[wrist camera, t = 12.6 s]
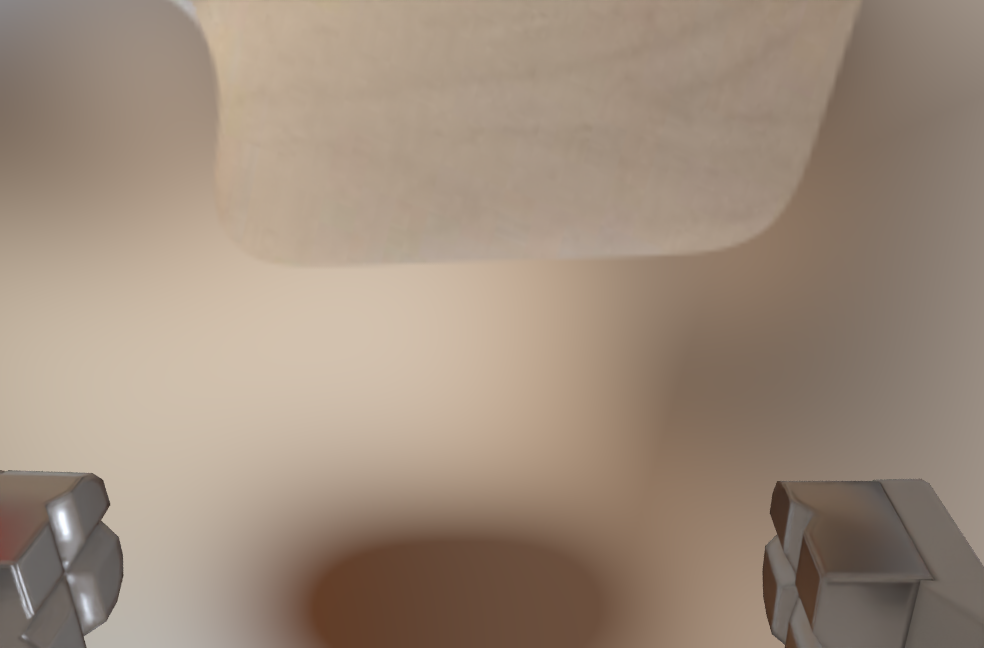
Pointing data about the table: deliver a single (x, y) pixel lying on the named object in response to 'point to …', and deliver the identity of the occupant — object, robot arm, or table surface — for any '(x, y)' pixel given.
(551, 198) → the table surface
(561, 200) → the table surface
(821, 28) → the table surface
